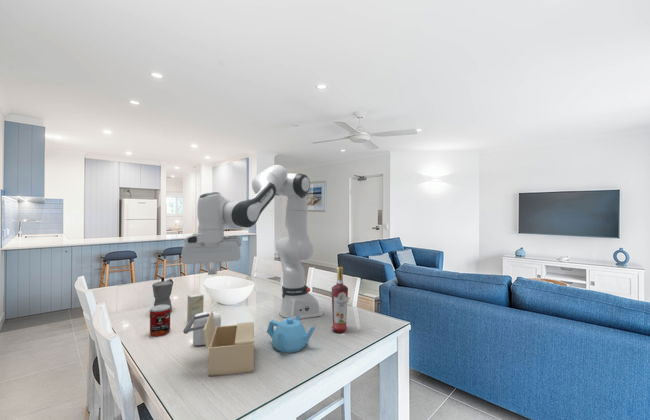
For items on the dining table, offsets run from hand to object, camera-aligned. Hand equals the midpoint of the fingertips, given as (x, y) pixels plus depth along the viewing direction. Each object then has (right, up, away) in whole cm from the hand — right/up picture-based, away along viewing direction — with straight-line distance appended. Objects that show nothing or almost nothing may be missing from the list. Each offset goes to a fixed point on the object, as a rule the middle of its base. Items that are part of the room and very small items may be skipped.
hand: (212, 274), depth 110 cm
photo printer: (-6, -30, +9) cm, 31 cm away
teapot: (+28, -30, +7) cm, 41 cm away
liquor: (+48, -30, +23) cm, 61 cm away
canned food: (-29, -29, +18) cm, 45 cm away
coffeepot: (-42, -29, +44) cm, 68 cm away
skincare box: (-21, -29, +33) cm, 49 cm away
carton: (+9, -30, -4) cm, 31 cm away
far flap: (+2, -17, -6) cm, 18 cm away
